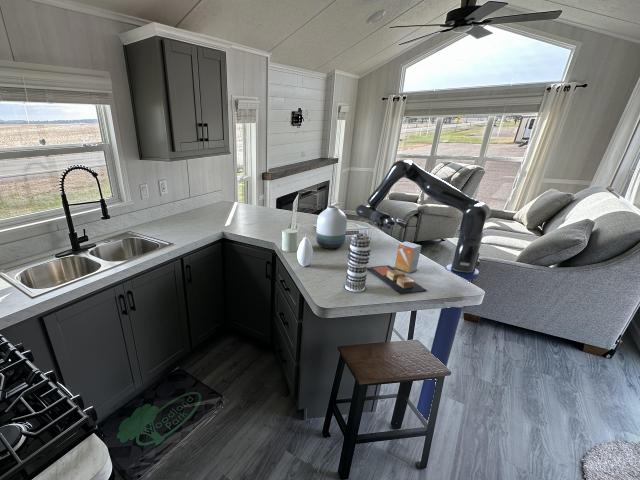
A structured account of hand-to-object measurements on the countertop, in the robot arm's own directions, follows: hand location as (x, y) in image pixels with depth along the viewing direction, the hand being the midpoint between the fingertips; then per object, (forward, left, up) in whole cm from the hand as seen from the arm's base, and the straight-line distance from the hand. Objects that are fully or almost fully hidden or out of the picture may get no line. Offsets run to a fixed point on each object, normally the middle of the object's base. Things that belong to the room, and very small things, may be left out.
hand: (397, 226), depth 167 cm
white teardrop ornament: (+47, -5, -19) cm, 51 cm away
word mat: (+12, +20, -19) cm, 30 cm away
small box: (0, +11, -19) cm, 22 cm away
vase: (+22, -30, -19) cm, 42 cm away
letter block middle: (+12, +20, -18) cm, 30 cm away
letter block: (+12, +28, -18) cm, 36 cm away
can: (+47, -31, -19) cm, 59 cm away
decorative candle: (+34, +24, -19) cm, 46 cm away
